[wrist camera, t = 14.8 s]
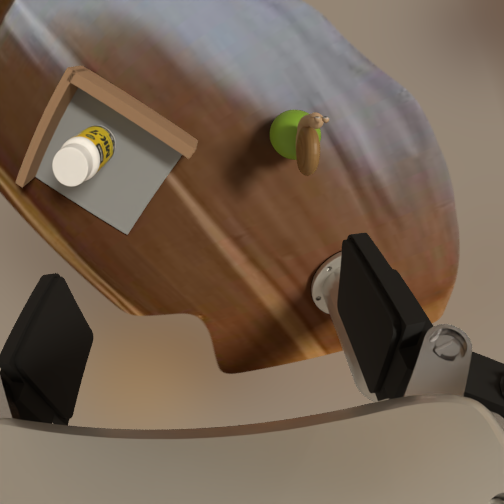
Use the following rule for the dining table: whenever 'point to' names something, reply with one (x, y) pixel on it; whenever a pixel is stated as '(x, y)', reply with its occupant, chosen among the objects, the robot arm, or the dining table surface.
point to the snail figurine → (298, 138)
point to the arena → (126, 152)
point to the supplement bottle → (83, 155)
